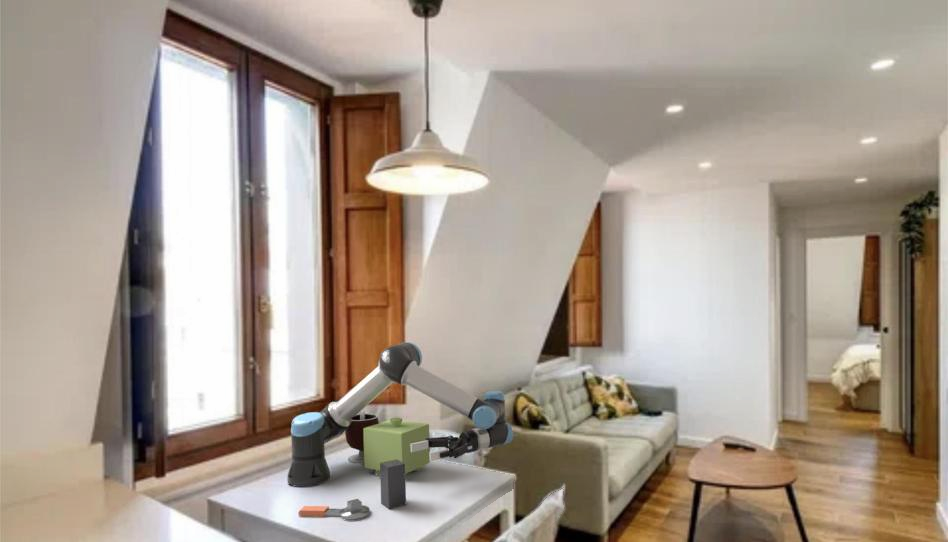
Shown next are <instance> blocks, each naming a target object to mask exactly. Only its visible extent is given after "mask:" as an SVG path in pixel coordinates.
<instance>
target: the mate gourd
mask: <svg viewBox="0 0 948 542" xmlns="http://www.w3.org/2000/svg"><path fill="white" fill-rule="evenodd" d="M365 412H366V411H365V407H364V408H363V409H362V410H361V411H360V412H359V413H358V414H356V415H355V416H354V417H353V418H352V419H351V424H350V426H348V427H347V428H346V430H345V431H344V436H345V440H346V443H347V445H348V446H349V447H350V448H351V449H354V450H356V451H358V453H357V454H353V455H350V456H348V457H347V462H348V461H349V462H348V463H350V462H351V463H352V464H357V463H360V464H364V430H363V429H364V428H366V427H369V426H372V425H375V424H379V423H380V421H379V417H378V415H377V414H374V413H365ZM351 463H350V464H351Z"/></svg>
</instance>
